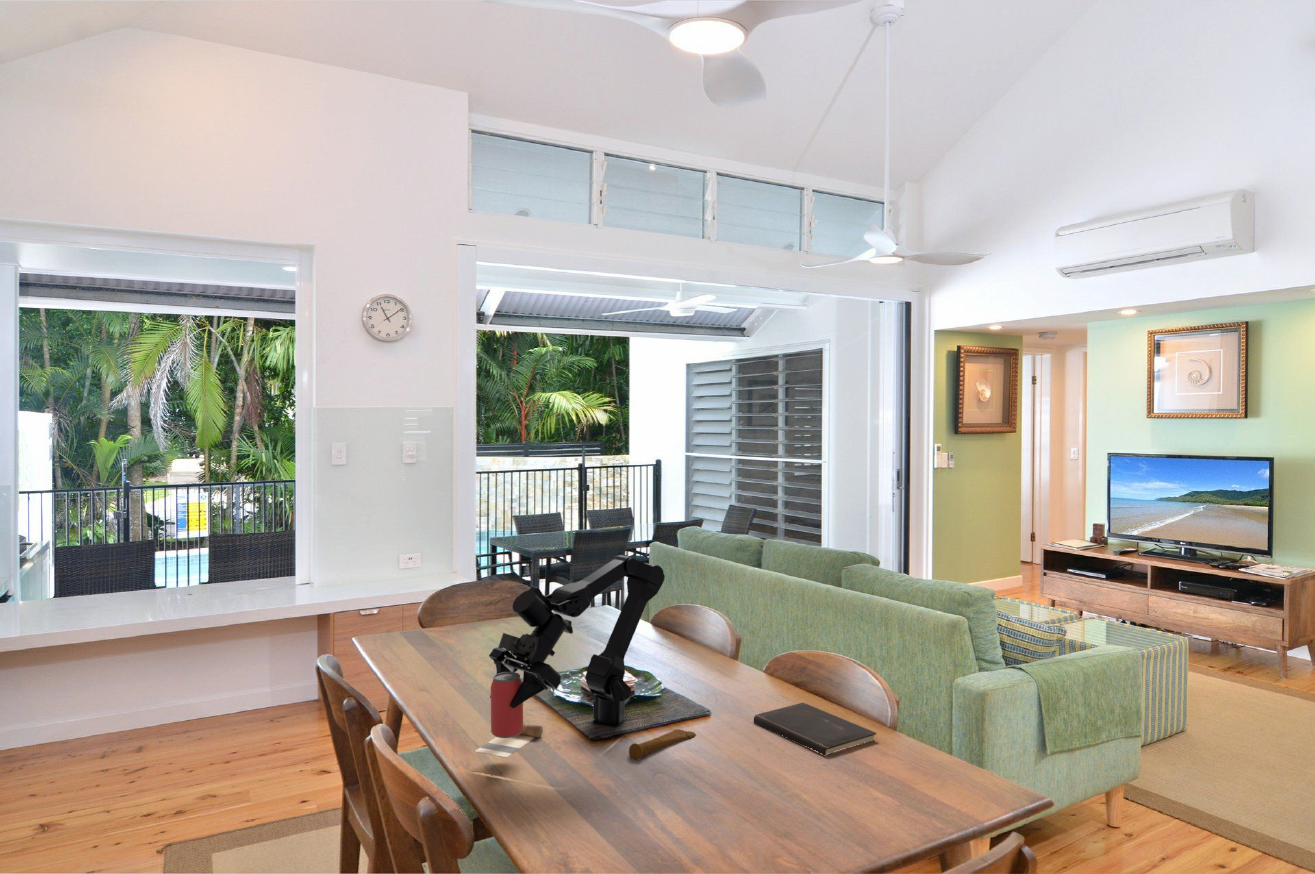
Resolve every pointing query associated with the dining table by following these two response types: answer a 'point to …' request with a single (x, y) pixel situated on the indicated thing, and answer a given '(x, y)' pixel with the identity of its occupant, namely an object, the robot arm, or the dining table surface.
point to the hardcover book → (814, 728)
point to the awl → (532, 730)
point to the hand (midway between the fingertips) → (501, 702)
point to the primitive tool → (659, 743)
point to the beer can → (505, 705)
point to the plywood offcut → (505, 745)
